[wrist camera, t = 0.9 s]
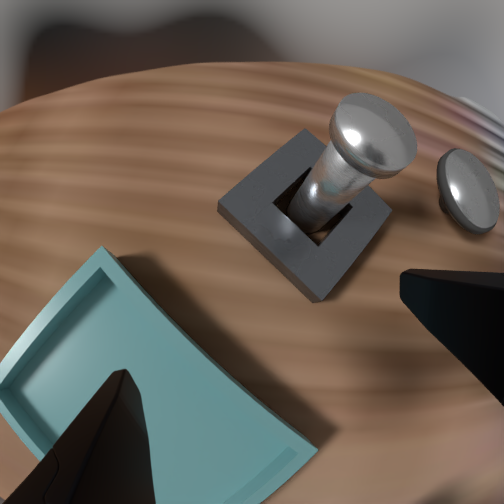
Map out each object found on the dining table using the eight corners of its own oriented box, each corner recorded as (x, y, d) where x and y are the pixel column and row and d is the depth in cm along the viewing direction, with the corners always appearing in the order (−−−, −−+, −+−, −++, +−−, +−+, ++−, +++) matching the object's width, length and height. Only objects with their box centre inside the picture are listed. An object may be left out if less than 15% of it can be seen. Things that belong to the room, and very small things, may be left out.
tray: (305, 436, 20) (318, 450, 17) (173, 542, 15) (170, 561, 13) (114, 255, 21) (101, 245, 18) (3, 383, 17) (-17, 387, 14)
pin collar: (380, 218, 25) (392, 210, 23) (312, 303, 22) (321, 300, 20) (298, 140, 26) (304, 128, 24) (217, 211, 23) (218, 201, 21)
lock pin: (341, 215, 24) (427, 139, 13) (309, 251, 23) (394, 185, 12) (303, 179, 25) (365, 82, 13) (268, 212, 23) (319, 116, 12)
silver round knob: (477, 209, 28) (506, 194, 23) (455, 261, 25) (490, 249, 20) (432, 155, 28) (458, 133, 23) (403, 199, 26) (434, 176, 21)
